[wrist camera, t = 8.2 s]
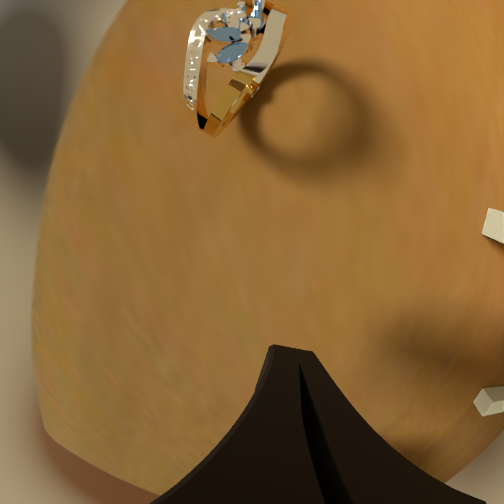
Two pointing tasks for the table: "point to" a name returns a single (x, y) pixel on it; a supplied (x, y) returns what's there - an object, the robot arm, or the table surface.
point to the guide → (500, 398)
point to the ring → (232, 57)
